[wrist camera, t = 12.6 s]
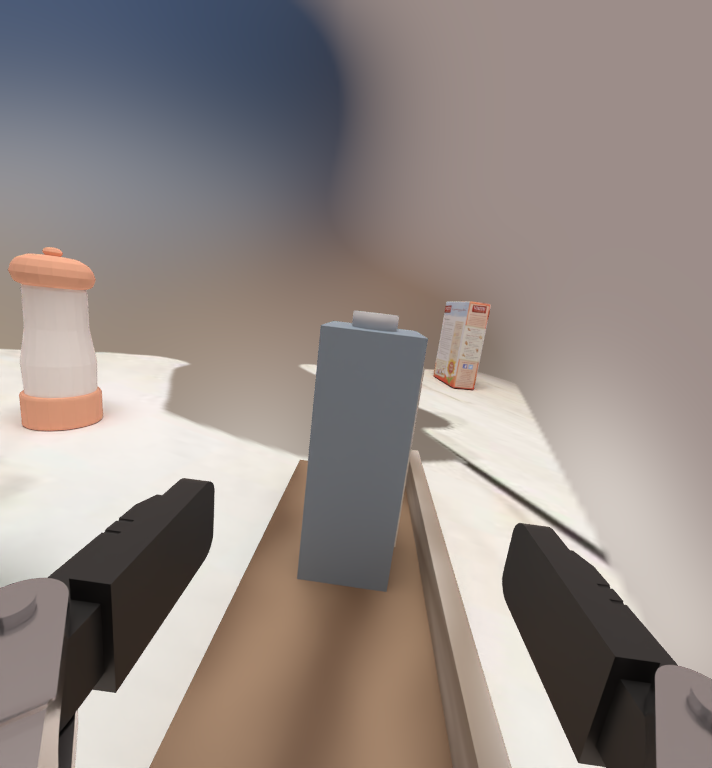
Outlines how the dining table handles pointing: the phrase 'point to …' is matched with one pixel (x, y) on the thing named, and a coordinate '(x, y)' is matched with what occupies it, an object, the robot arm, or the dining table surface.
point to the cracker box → (461, 343)
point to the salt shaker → (56, 343)
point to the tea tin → (359, 449)
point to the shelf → (341, 662)
